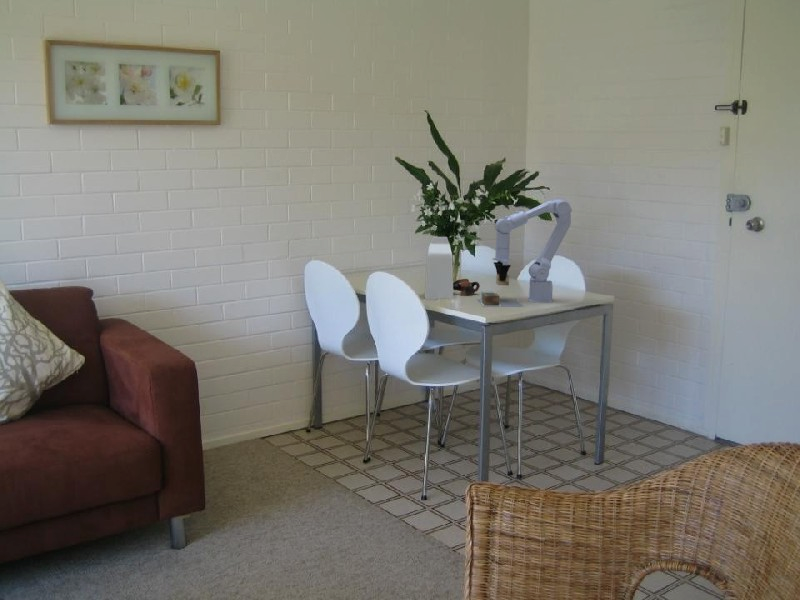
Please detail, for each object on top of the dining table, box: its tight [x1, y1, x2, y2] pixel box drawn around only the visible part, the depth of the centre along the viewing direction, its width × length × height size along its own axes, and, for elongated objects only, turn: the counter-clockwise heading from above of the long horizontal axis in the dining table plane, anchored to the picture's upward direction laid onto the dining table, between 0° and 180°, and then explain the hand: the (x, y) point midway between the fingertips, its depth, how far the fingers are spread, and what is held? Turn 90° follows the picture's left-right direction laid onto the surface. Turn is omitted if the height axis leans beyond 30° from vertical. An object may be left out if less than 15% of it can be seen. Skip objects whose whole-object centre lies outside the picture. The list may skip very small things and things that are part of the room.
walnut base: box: [481, 292, 501, 306], centre depth 367 cm, size 6×6×4 cm
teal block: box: [480, 290, 495, 300], centre depth 374 cm, size 4×4×4 cm
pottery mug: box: [453, 278, 481, 297], centre depth 392 cm, size 12×10×8 cm
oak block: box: [495, 273, 510, 286], centre depth 375 cm, size 4×4×4 cm
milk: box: [424, 236, 454, 300], centre depth 383 cm, size 12×12×26 cm
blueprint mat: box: [476, 298, 525, 308], centre depth 371 cm, size 17×18×1 cm
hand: (501, 279), depth 375 cm, fingers closed on oak block, 4 cm apart
